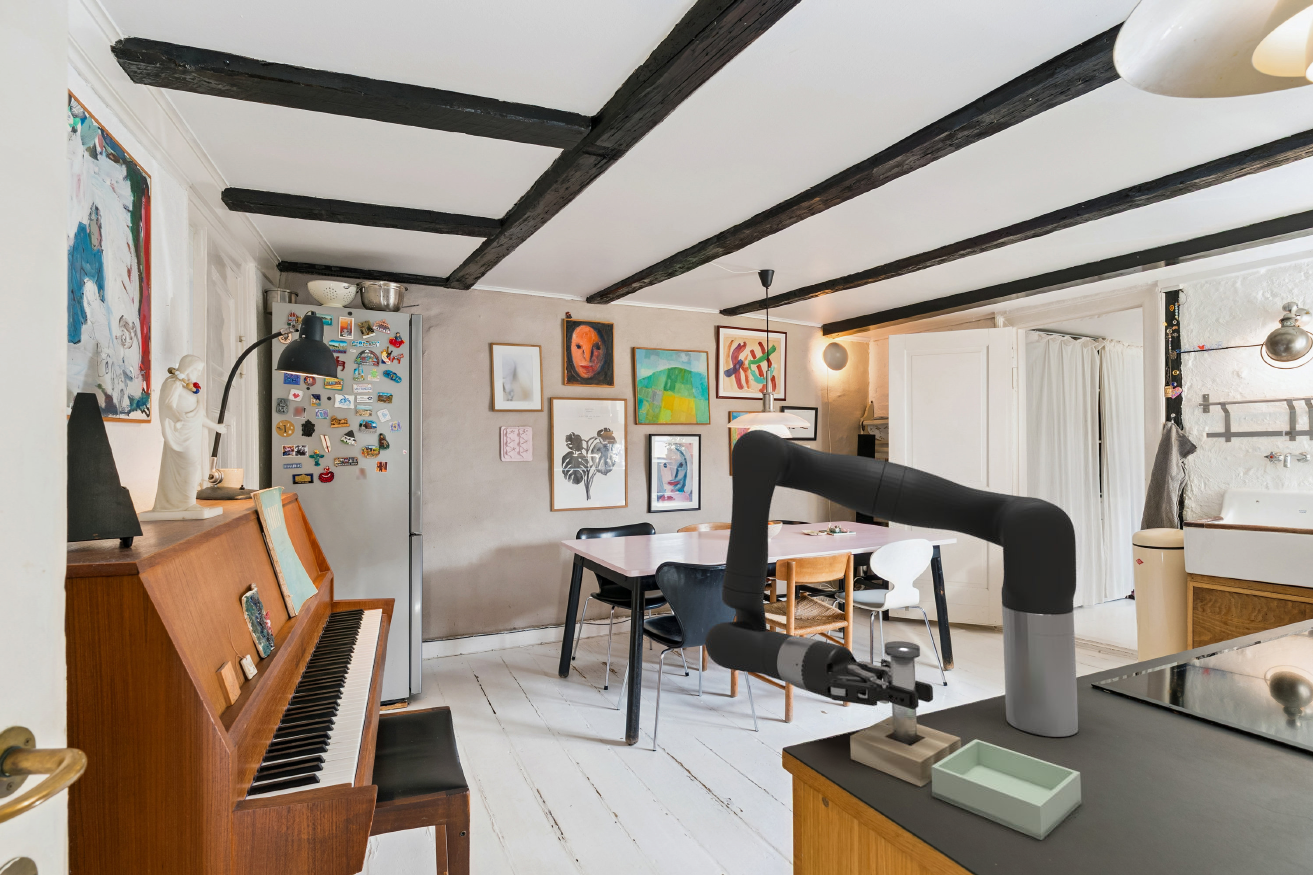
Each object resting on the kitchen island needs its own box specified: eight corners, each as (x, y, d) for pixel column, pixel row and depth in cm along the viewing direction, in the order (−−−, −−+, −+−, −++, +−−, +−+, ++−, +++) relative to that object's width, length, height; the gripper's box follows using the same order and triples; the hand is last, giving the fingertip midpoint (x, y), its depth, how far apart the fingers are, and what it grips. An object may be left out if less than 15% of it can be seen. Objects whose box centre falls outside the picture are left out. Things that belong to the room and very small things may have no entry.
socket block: (892, 736, 95) (891, 715, 95) (961, 760, 88) (960, 737, 88) (850, 758, 89) (850, 735, 89) (921, 786, 81) (920, 761, 81)
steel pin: (899, 749, 92) (896, 639, 92) (930, 760, 88) (926, 645, 88) (881, 759, 89) (877, 645, 89) (912, 771, 85) (908, 653, 86)
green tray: (976, 766, 86) (975, 738, 86) (1081, 802, 77) (1080, 772, 77) (932, 795, 79) (931, 766, 79) (1041, 840, 70) (1040, 806, 70)
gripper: (783, 650, 95) (893, 681, 82) (843, 631, 104) (950, 656, 91) (785, 703, 95) (895, 742, 82) (844, 680, 104) (952, 711, 91)
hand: (923, 697), depth 86 cm, fingers closed on steel pin, 3 cm apart
